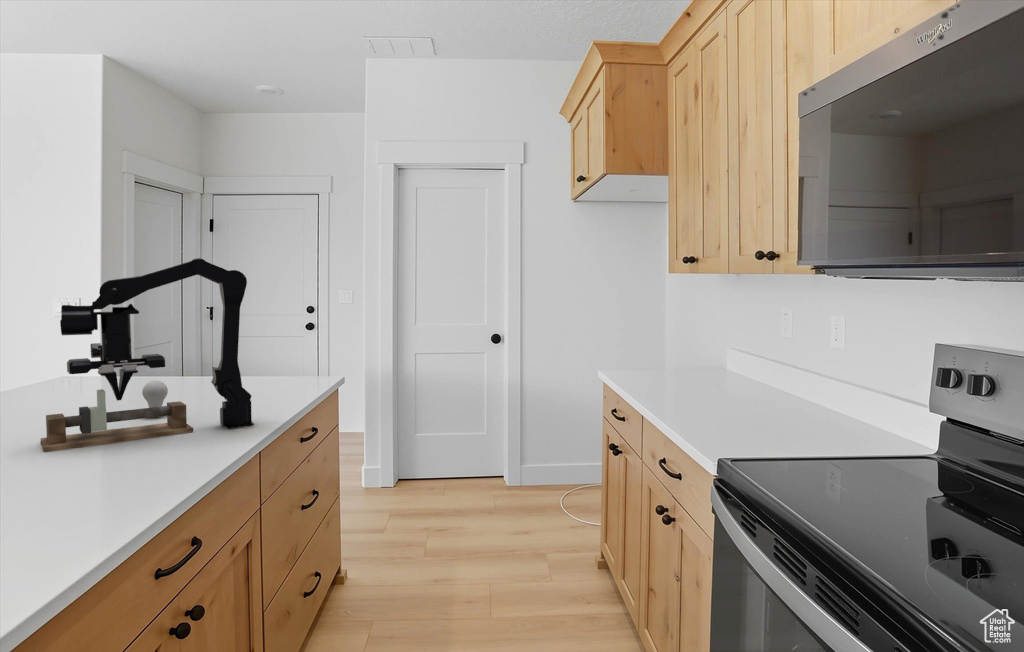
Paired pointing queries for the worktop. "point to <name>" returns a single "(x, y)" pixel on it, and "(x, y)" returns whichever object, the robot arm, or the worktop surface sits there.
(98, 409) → the sleeve
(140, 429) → the pipe stand
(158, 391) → the light bulb
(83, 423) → the dark grey angular piece
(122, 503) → the worktop surface
